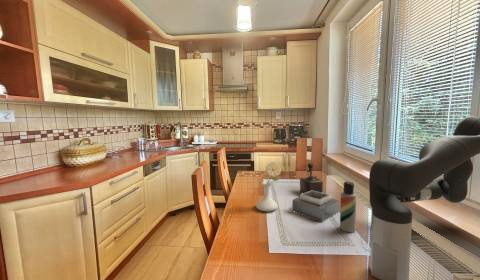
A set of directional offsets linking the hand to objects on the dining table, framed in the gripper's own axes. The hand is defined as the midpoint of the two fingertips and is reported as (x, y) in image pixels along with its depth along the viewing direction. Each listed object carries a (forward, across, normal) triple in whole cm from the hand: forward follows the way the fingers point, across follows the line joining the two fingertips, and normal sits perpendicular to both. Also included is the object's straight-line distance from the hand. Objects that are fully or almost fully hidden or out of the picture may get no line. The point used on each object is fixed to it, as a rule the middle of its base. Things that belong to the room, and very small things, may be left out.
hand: (377, 193), depth 86 cm
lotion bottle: (+13, 0, +15) cm, 19 cm away
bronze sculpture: (+9, -47, +15) cm, 50 cm away
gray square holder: (+18, -18, +14) cm, 30 cm away
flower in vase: (+41, -25, +14) cm, 50 cm away
